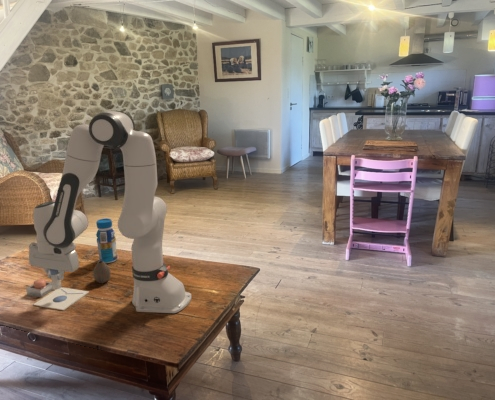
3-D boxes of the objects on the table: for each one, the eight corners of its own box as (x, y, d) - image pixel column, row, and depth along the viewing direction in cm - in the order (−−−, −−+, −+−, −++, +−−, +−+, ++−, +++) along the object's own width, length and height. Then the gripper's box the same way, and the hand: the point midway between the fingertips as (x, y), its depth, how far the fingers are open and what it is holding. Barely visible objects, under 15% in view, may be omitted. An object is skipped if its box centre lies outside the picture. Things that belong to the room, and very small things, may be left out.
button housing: (54, 289, 158) (53, 282, 157) (41, 297, 152) (40, 290, 151) (41, 286, 160) (39, 280, 159) (27, 295, 154) (26, 288, 153)
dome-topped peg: (63, 286, 149) (60, 267, 147) (57, 290, 146) (54, 270, 144) (56, 285, 150) (54, 266, 148) (50, 288, 147) (47, 269, 145)
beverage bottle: (95, 261, 184) (90, 221, 179) (110, 255, 191) (106, 216, 186) (106, 265, 180) (101, 224, 174) (121, 259, 186) (117, 219, 181)
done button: (49, 287, 157) (47, 279, 156) (40, 292, 153) (39, 284, 152) (40, 286, 158) (39, 278, 157) (32, 290, 154) (31, 283, 153)
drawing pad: (89, 292, 155) (89, 291, 155) (63, 310, 142) (63, 309, 142) (60, 287, 159) (60, 286, 159) (33, 305, 146) (33, 304, 146)
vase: (105, 285, 161) (103, 266, 158) (90, 284, 162) (88, 264, 160) (114, 277, 167) (112, 259, 165) (100, 276, 169) (97, 258, 166)
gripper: (21, 244, 144) (27, 278, 147) (67, 251, 138) (72, 286, 142) (35, 238, 150) (40, 271, 153) (79, 244, 144) (83, 278, 148)
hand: (56, 278), depth 147 cm, fingers closed on dome-topped peg, 3 cm apart
